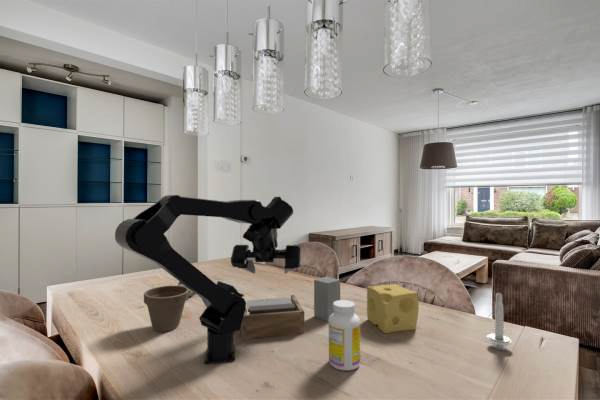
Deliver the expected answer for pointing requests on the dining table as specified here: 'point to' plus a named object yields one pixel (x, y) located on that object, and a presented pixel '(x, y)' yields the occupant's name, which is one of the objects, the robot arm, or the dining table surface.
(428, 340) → the dining table surface
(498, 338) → the screw
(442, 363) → the dining table surface
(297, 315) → the trap frame
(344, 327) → the supplement bottle
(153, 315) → the flower pot
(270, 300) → the trapdoor
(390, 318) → the cheese
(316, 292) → the grey rectangular block
